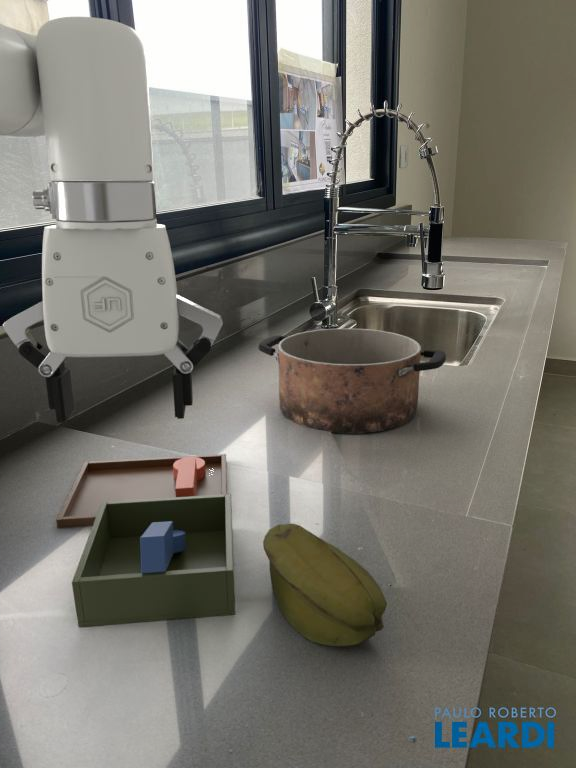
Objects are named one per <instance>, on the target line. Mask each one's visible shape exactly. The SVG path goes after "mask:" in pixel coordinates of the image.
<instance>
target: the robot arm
mask: <svg viewBox="0 0 576 768" xmlns="http://www.w3.org/2000/svg"><path fill="white" fill-rule="evenodd" d="M148 73H149V72H148V58H147V51H146V47H145V43H144V41H143V38H142V37H141V35H140V34H139V33H138V32H137V31H136V30H135V29H134V28H133V27H131V26H129V25H126V24H124V23H122V22H119V21H116V20H111V19H107V18H102V17H101V18H100V17H93V16H63V17H57V18H53V19H50V20H47V21H46V22H45V23H44V24H42V25H41V26H40V28H39V29H38V31H37V34H36V35H34V34H31V33H27V32H25V31H21V30H18V29H15V28H13V27H10V26H7V25H4V24H2V23H0V137H5V138H11V139H12V138H13V139H31V138H40V137H45V143H46V152H47V159H48V167H49V168H48V170H49V176H50V177H49V178H50V182H49V181H48V183H47V184H48V186H47V187H46V188H44V189H43V190H33V192H32V204H33V207H34V209H36V210H44V211H45V212H49V214H51V218H52V219H54V221H55V224H51V225H47V226H44V227H43V228H44V229H43V236H42V252H41V285H42V286H41V287H42V288H41V289H42V293H41V294H42V300H41V301H40V302H38V303H36V304H33V305H32V306H30V307H29V308H27V309H25V310H23V311H21V312H19V313H17V314H16V315H13V316H12V317H10V318H9V319H7V320H6V321H3V324H2V328H3V330H4V332H5V333H6V334H7V336H8V337H9V338H10V340H11V342H12V343H13V345H14V346H16V348H17V349H18V353H19V356H21V357H22V358H24V359H25V360H26V361H27V362H28V363H30V364H31V365H33V366H34V367H35V368H36V369H37V371H38V373H39V374H40V376H42V377H44V378H45V385H46V392H47V401H48V407H49V409H50V410H51V411H53V410H55V418H56V423H58V424H59V423H65V422H66V421H68V419H69V418H70V417H71V415H72V414H73V412H74V410H75V402H74V393H73V385H72V376H71V369H70V368H69V367H68V365H65V360H66V359H67V358H113V357H114V358H115V357H149V356H160V355H164V357H166V358H167V359H168V360H169V361H170V362H171V363H172V364H173V366H174V369H173V373H172V390H173V391H172V392H173V406H174V407H173V409H174V418H176V419H177V420H181V419H184V418H185V413H186V407H188V406H190V407H191V406H193V400H194V399H193V397H194V395H193V394H194V393H193V377H192V375H193V374H192V372H193V370H194V368H195V367H196V366H197V365H198V364H199V363H200V362H201V361H202V360H203V359H204V358H205V357H206V356H207V355H208V354H209V353H210V352H211V349H212V347H213V345H214V342H216V339H217V337H218V335H219V334H220V331H221V329H222V327H223V324H224V323H223V321H224V319H223V317H222V316H221V315H220V314H219V313H216V312H214V311H212V310H211V309H208V308H206V307H204V306H202V305H200V304H198V303H195V302H193V301H192V300H189V299H187V298H185V297H183V296H181V295H179V294H178V287H177V286H178V285H177V278H176V271H175V265H174V259H173V254H172V249H171V243H170V239H169V235H168V232H167V228H166V225H165V224H161V223H158V220H157V203H156V201H157V200H156V186H155V185H156V184H155V182H154V181H155V174H154V157H153V156H154V155H153V142H152V141H153V140H152V122H151V107H150V90H149V89H150V88H149V75H148ZM180 317H182V318H185V319H187V320H189V321H191V322H193V323H195V324H197V325H199V326H200V327H201V328H202V330H201V332H200V335H199V336H198V338H197V339H195V341H193V342H192V344H191V345H189V347H188V346H187V345H186V344H185V343H184V342H183V340H181V339H180V338H179V333H180V324H181V323H180V321H181V319H180ZM42 320H43V327H44V336H45V340H46V344H47V347H48V348H47V347H46V346H45V345H44V344H42V343H41V342H40V341H39V340H38V339H36V338H35V337H34V336H33V334H32V331H31V329H30V328H31V326H33V325H35V324H37V323H39V322H41V321H42Z"/></svg>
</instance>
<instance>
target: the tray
mask: <svg viewBox="0 0 576 768" xmlns="http://www.w3.org/2000/svg"><path fill="white" fill-rule="evenodd" d="M186 457H197V458H201V459H203V460H204V461H205V468H206V475H205V477H204V478H202V479H201V480H198V481H197V492H196V496H205V495H221V494H228V479H227V478H228V477H227V475H228V473H227V472H228V471H227V454H226V453H218V454H198V455H182V456H166V457H165V456H163V457H162V456H161V457H147V458H132V459H131V458H129V459H112V460H111V459H110V460H93V461H84V462H83V464H82V465H81V468H80V470H79V472H78V474H77V476H76V478H75V480H74V482H73V485H72V486H71V489H70V491H69V493H68V495H67V496H66V499H65V501H64V503H63V505H62V507H61V509H60V511H59V513H58V515H57V517H56V520H55V521H56V528H57V529H69V528H84V527H93V524H94V521H95V519H96V516H97V513H98V510H99V508H100V505H101V502H109V501H125V500H141V499H157V498H173V497H176V493H175V487H176V479H175V478H174V473H173V464H174V462H175V461H177V460H179V459H182V458H186ZM212 468H213V469H214V470H213V469H212ZM209 469H210V470H213V471H214V472H213V471H210V470H209ZM211 472H212V473H211ZM209 473H210V474H209ZM211 474H213V475H211ZM209 475H210V476H209Z"/></svg>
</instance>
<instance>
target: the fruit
mask: <svg viewBox="0 0 576 768" xmlns="http://www.w3.org/2000/svg"><path fill="white" fill-rule="evenodd" d="M262 544H263V549H264V552H265V555H266V557H267V560H268V561H269V575H270V582H271V587H272V592H273V596H274V599H275V602H276V604H277V606H278V607H279V610H280V611H281V613H282V615H283V617H284V618H285V620H286V621H287V622H288V623H289V625H290V626H291V627H292V628H294V630H296V632H298V633H299V634H300V635H301V636H302V637H304V639H306V640H308V641H309V642H312V643H315V644H318V645H324V646H327V647H350V646H359V645H360V644H362V643H364V642H366V641H368V640H369V639H371V638H372V637H375V635H376V633H377V632H380V631H382V630H383V629H384V621H383V615H384V613H385V611H386V608H387V604H388V602H387V600H386V597H385V595H384V593H383V591H382V589H381V587H380V585H379V584H378V583H377V581H376V580H375V578H374V577H373V576H372V575H371V574H370V573H369V571H368V570H367V569H365V568H364V567H363V566H362V565H361V564H360V563H358V562H357V560H355V559H354V558H353V557H351V556H349V555H348V554H347V553H345V552H343V551H342V550H341V549H340V548H338V547H336V546H335V545H333V544H331V543H329V542H327V541H326V540H324V539H322V538H320V537H319V536H318V535H315V534H314V533H313V532H311V531H309V530H308V529H306V528H304V527H303V526H301V525H300V524H296V523H285V524H283V523H281V524H277V525H276V526H274V527H272V528H270V529H268V531H267V533H266V534H265V535H264V537H263V541H262Z"/></svg>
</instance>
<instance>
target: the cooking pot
mask: <svg viewBox="0 0 576 768" xmlns="http://www.w3.org/2000/svg"><path fill="white" fill-rule="evenodd" d="M276 345H278V350H277V351H278V352H276V348H274V346H276ZM258 351H259V352H262V353H264V354H266V355H268V356H270V357H272V356H275V360H276V362H277V363H278V400H279V401H278V402H279V411H281V413H282V415H283V416H284V417H285V418H287V419H288V420H289V421H292V422H294V423H296V424H298V425H301V426H304V427H307V428H311V429H315V430H317V431H318V430H319V431H325V432H330V434H339V435H340V434H341V435H363V434H374V433H381V432H386V431H389V430H394V429H396V428H399V427H401V426H403V425H405V424H407V423H409V421H410V420H412V418H414V416H416V414H417V411H418V403H419V390H420V389H419V387H420V372H422V371H429V370H436V369H439V368H441V367H442V366H443V365H444V364H445V363H446V360H447V355H446V352H445V351H443V350H440V349H425V350H423V351H422V347H421V344H420V343H418V341H416V339H413V338H411V337H409V336H406V335H403V334H399V333H396V332H391V331H387V330H386V331H385V330H379V329H370V328H369V329H367V328H353V327H352V328H347V327H346V328H342V327H341V328H322V329H315V330H308V331H302V332H298V333H294V334H291V335H289V336H287V335H280V334H279V335H277V334H276V335H272V336H269V337H267V338H265V339H263V340H261V341H260V342H259V343H258ZM421 356H423V357H424V358H429V361H423V362H421Z"/></svg>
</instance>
